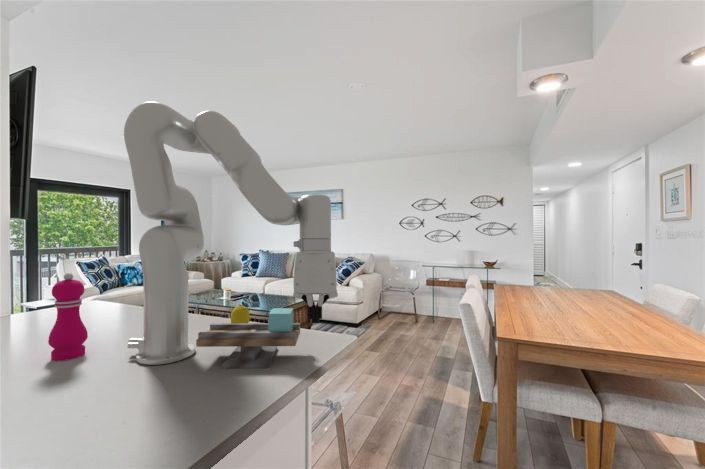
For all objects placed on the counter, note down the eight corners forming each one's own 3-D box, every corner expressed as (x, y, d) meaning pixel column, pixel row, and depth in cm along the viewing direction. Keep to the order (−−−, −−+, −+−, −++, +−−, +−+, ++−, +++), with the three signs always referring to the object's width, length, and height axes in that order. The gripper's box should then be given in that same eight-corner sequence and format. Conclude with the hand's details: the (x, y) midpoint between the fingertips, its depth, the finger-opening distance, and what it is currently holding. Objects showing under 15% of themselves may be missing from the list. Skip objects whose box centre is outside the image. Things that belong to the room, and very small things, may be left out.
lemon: (243, 334, 99) (243, 306, 99) (226, 332, 100) (226, 305, 100) (253, 328, 104) (253, 303, 104) (236, 327, 105) (236, 302, 105)
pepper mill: (94, 353, 82) (94, 272, 82) (58, 364, 76) (58, 275, 76) (77, 348, 85) (77, 270, 85) (41, 358, 79) (41, 273, 79)
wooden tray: (194, 368, 74) (194, 336, 74) (214, 349, 86) (214, 321, 86) (294, 367, 75) (294, 335, 75) (300, 348, 87) (300, 321, 87)
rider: (268, 335, 78) (268, 313, 78) (272, 328, 83) (273, 308, 83) (290, 335, 78) (290, 313, 78) (293, 328, 84) (293, 308, 84)
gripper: (281, 247, 77) (282, 326, 77) (346, 246, 77) (347, 325, 78) (286, 245, 84) (286, 318, 85) (346, 245, 85) (346, 317, 85)
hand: (315, 321), depth 81 cm, fingers closed
